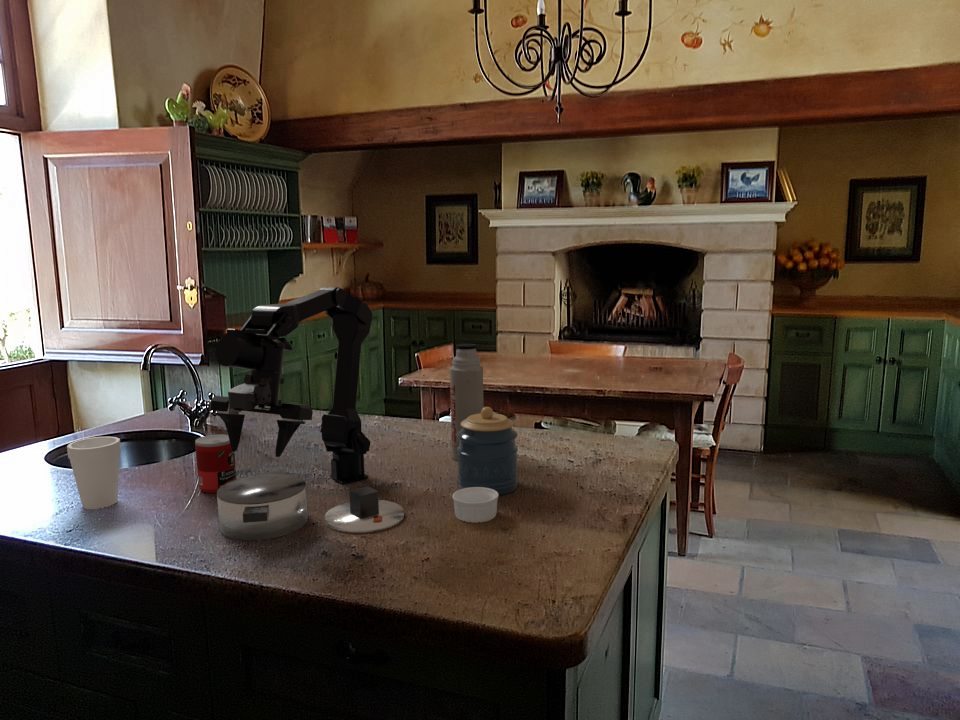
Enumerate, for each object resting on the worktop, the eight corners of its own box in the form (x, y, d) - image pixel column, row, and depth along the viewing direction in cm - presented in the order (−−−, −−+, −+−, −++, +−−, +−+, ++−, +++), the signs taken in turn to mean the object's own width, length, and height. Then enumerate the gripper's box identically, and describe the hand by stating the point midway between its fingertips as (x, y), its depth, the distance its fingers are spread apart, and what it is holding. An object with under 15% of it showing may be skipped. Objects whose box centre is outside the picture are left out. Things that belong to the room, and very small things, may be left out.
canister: (526, 481, 156) (526, 403, 153) (503, 501, 144) (503, 416, 141) (473, 474, 161) (472, 398, 158) (447, 492, 150) (445, 411, 147)
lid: (378, 499, 147) (377, 473, 146) (418, 521, 135) (418, 492, 134) (311, 517, 138) (310, 489, 137) (348, 542, 126) (347, 511, 125)
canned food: (225, 494, 150) (221, 444, 148) (191, 492, 152) (187, 442, 150) (243, 482, 157) (240, 434, 156) (211, 480, 159) (207, 433, 157)
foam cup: (136, 498, 148) (130, 438, 146) (99, 514, 140) (92, 450, 138) (101, 493, 152) (94, 435, 149) (63, 509, 143) (56, 447, 141)
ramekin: (465, 528, 131) (465, 505, 130) (445, 512, 139) (444, 491, 138) (507, 519, 135) (506, 497, 134) (485, 504, 143) (485, 483, 142)
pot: (229, 505, 144) (227, 471, 143) (310, 498, 147) (308, 466, 146) (208, 551, 122) (205, 513, 121) (304, 543, 125) (302, 505, 124)
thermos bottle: (452, 462, 170) (450, 347, 166) (451, 452, 178) (448, 342, 173) (485, 461, 171) (484, 346, 166) (482, 451, 179) (481, 341, 174)
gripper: (196, 363, 129) (185, 450, 128) (288, 372, 124) (278, 462, 123) (231, 368, 139) (221, 447, 138) (318, 376, 135) (308, 459, 134)
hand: (255, 454), depth 133 cm, fingers open, 9 cm apart
